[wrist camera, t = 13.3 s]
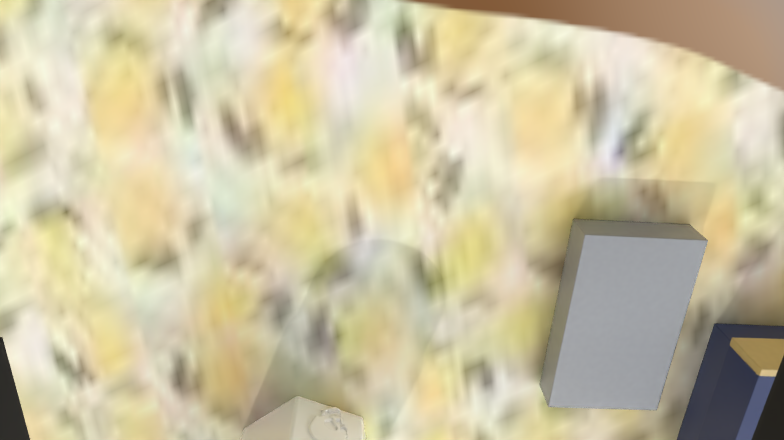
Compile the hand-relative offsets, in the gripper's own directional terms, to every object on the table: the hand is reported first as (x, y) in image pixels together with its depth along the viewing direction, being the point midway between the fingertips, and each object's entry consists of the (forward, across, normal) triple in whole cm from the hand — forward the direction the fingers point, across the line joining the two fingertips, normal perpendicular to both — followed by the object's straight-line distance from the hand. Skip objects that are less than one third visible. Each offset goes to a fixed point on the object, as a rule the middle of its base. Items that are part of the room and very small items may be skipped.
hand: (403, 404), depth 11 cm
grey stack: (+26, +14, -13) cm, 32 cm away
